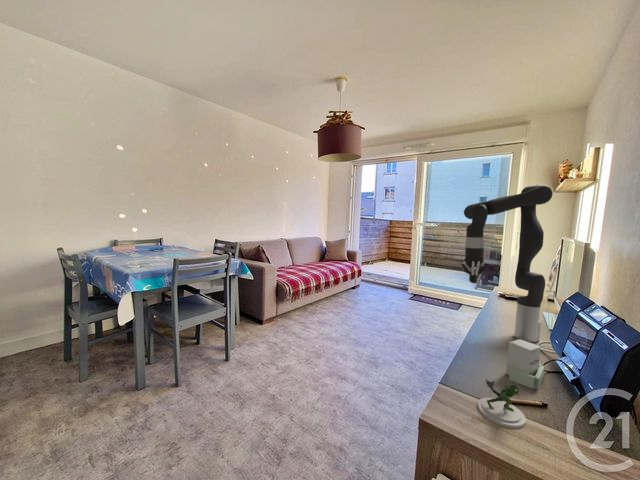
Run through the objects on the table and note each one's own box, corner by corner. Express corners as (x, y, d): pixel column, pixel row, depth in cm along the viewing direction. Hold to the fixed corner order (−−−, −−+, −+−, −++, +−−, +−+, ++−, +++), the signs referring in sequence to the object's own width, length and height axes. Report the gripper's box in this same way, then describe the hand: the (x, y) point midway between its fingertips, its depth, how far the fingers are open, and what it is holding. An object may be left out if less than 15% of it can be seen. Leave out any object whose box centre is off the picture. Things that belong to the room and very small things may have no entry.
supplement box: (526, 384, 97) (530, 350, 96) (505, 373, 104) (507, 341, 103) (538, 379, 100) (541, 346, 99) (516, 369, 107) (519, 338, 106)
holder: (509, 379, 100) (510, 369, 100) (517, 366, 109) (518, 357, 109) (537, 390, 94) (538, 379, 94) (543, 375, 103) (544, 365, 103)
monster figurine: (523, 435, 74) (527, 399, 73) (473, 413, 82) (476, 380, 81) (527, 412, 83) (530, 380, 82) (481, 395, 91) (484, 365, 90)
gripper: (464, 247, 127) (462, 284, 128) (493, 247, 126) (491, 284, 128) (456, 245, 134) (455, 280, 135) (483, 245, 134) (482, 280, 135)
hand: (472, 282), depth 131 cm, fingers closed
